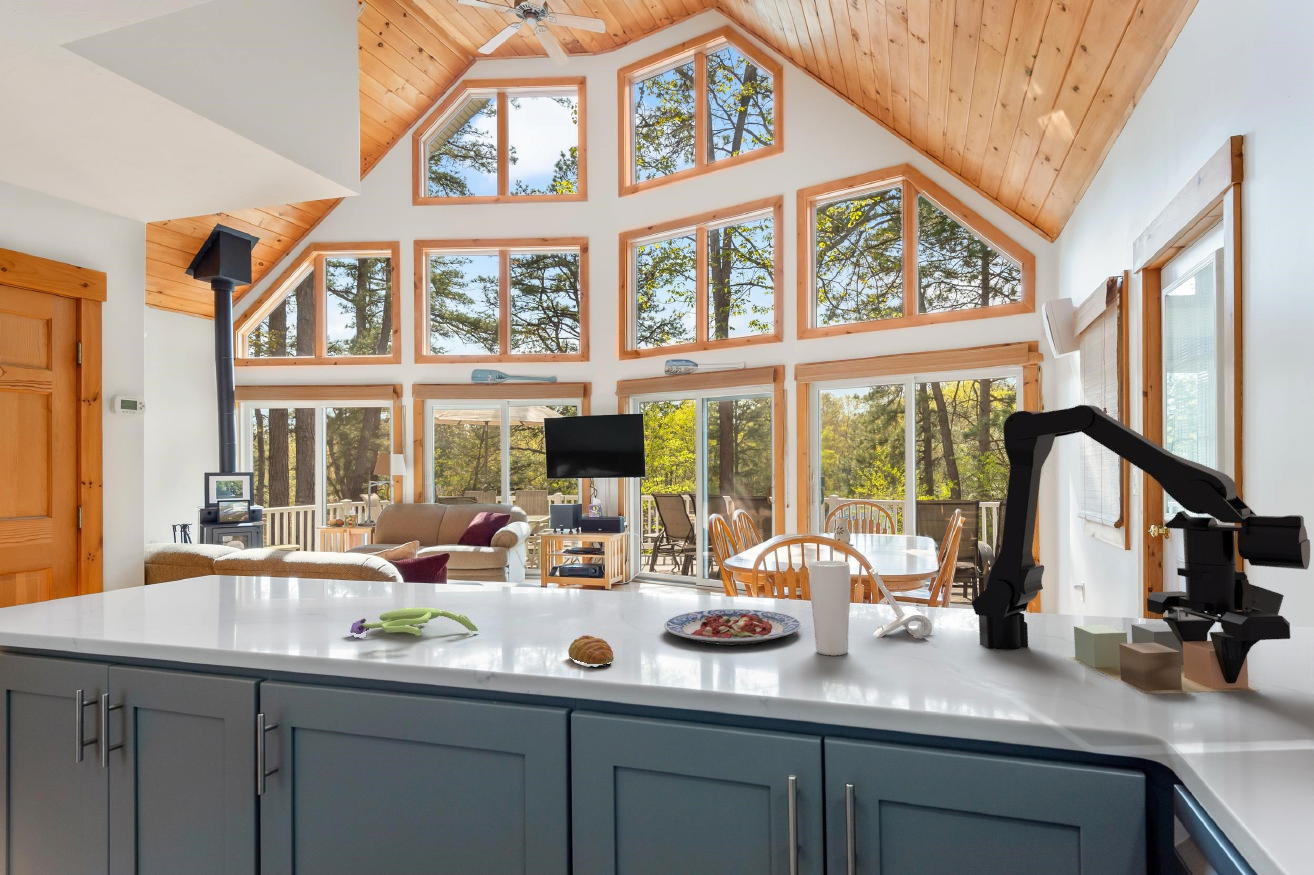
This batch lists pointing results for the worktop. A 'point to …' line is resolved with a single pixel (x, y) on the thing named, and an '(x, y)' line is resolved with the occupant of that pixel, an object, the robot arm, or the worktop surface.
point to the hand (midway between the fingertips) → (1215, 677)
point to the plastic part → (902, 615)
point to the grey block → (1156, 636)
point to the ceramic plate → (732, 626)
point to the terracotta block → (1208, 666)
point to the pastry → (591, 650)
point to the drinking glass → (830, 605)
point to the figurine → (409, 620)
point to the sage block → (1098, 645)
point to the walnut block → (1150, 666)
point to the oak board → (1186, 687)
